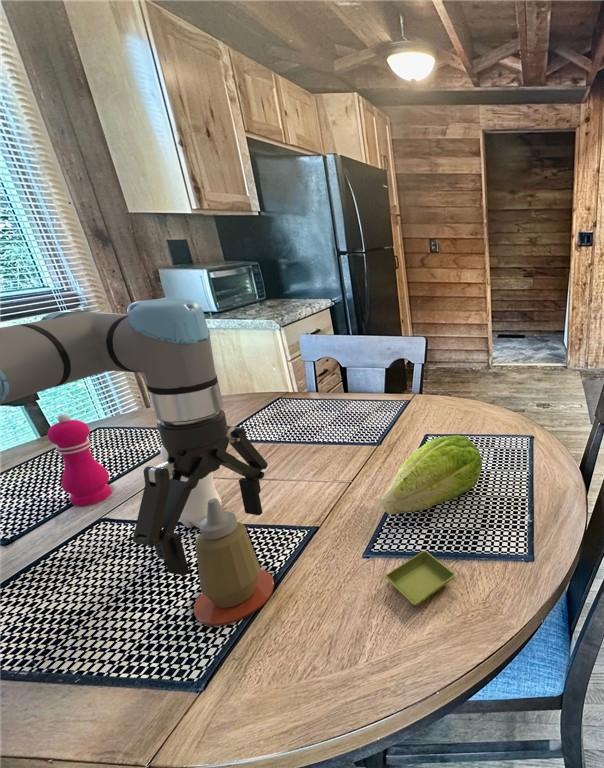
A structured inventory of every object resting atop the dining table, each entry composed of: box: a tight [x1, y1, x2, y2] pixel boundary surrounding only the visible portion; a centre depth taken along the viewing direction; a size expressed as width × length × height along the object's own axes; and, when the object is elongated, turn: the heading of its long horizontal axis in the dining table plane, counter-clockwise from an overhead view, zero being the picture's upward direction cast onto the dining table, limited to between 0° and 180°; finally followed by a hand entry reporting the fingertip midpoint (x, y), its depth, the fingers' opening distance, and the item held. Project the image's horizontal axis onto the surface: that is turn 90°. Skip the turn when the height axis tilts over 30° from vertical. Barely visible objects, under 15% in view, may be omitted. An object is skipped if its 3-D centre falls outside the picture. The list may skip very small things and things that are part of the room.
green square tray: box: [384, 550, 456, 607], centre depth 71 cm, size 9×9×2 cm
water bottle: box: [160, 444, 223, 529], centre depth 81 cm, size 7×7×25 cm
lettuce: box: [380, 434, 483, 516], centre depth 93 cm, size 14×24×15 cm
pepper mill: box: [46, 413, 112, 507], centre depth 88 cm, size 7×7×20 cm
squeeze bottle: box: [194, 498, 261, 608], centre depth 65 cm, size 8×8×18 cm
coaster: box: [193, 568, 275, 627], centre depth 68 cm, size 11×11×1 cm
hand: (220, 540), depth 64 cm, fingers open, 13 cm apart
